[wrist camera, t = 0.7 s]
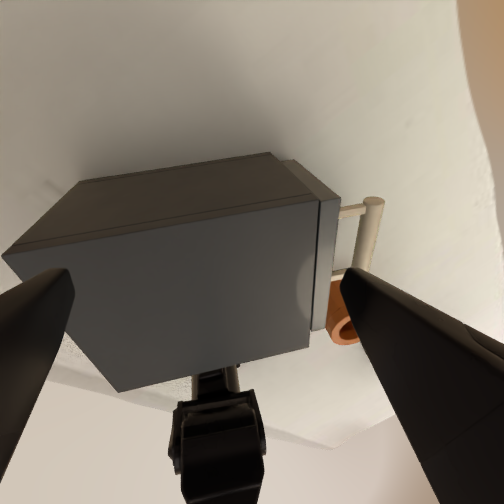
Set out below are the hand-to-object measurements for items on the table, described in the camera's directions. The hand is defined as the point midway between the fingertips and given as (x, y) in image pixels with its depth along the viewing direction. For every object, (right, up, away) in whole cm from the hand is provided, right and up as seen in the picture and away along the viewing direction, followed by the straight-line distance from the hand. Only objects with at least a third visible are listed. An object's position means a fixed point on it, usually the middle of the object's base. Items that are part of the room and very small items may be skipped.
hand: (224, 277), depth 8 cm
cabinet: (-4, +2, +15) cm, 15 cm away
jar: (+10, -4, +23) cm, 25 cm away
